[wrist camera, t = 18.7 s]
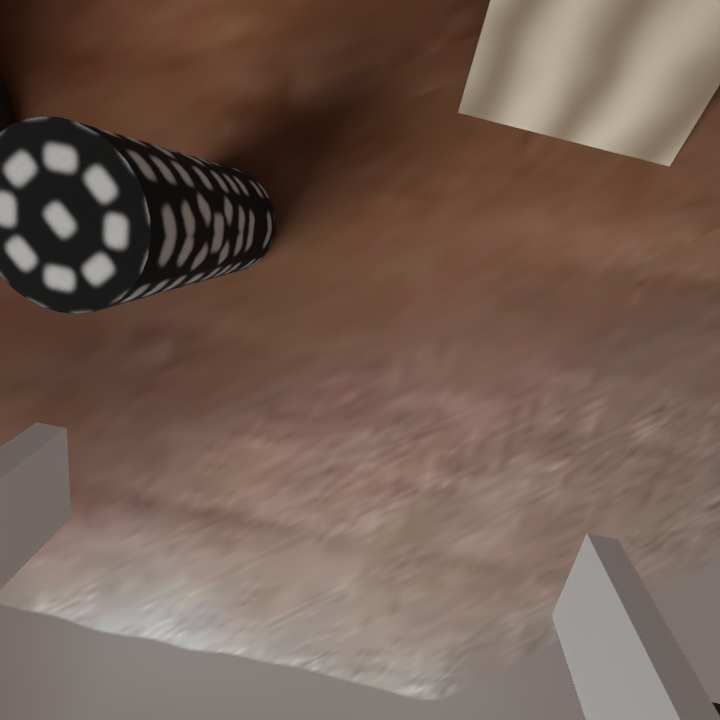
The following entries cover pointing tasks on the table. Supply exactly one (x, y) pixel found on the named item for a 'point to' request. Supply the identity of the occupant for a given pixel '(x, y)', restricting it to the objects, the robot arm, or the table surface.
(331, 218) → the table surface
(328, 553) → the table surface
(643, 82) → the ramp bench
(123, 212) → the white-spotted black cylinder
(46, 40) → the table surface
